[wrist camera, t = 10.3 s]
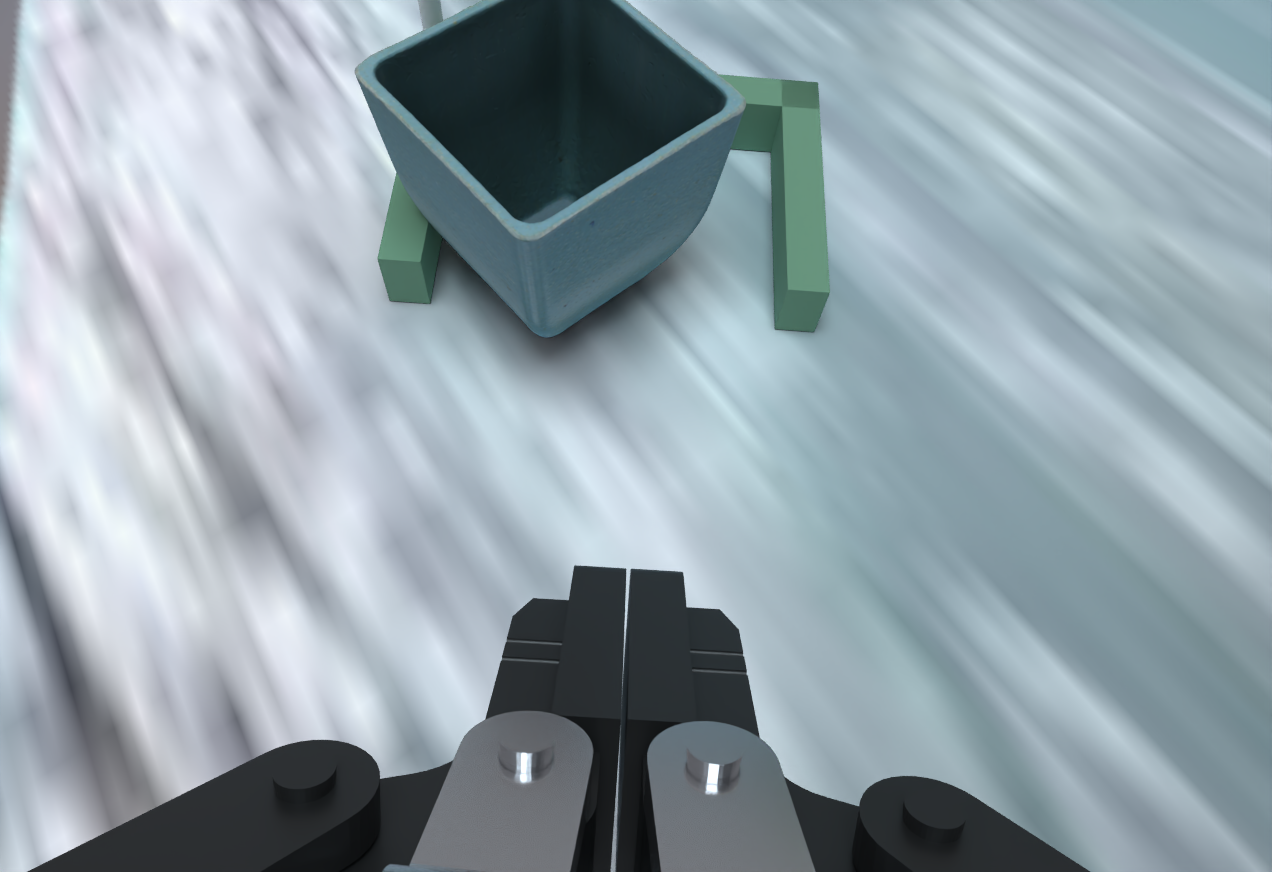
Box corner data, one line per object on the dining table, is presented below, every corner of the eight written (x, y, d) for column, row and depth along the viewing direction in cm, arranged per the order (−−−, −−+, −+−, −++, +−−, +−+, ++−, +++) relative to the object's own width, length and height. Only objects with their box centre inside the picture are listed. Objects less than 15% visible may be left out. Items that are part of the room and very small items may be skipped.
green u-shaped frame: (804, 128, 41) (910, -241, 28) (814, 331, 36) (947, -2, 23) (431, 98, 40) (364, -290, 27) (389, 300, 35) (284, -57, 23)
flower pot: (394, 251, 36) (344, 62, 29) (572, 147, 39) (571, -50, 32) (536, 405, 34) (524, 244, 26) (715, 280, 37) (754, 101, 29)
